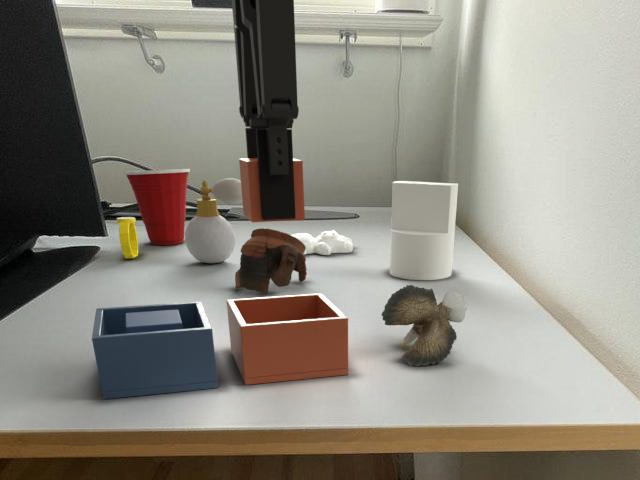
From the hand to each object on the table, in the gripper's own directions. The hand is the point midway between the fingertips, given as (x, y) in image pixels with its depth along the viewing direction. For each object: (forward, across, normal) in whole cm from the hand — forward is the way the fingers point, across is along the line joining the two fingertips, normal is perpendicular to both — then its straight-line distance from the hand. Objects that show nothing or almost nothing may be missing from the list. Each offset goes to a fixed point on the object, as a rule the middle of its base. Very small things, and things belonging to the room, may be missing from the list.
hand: (272, 213), depth 57 cm
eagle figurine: (+13, -2, -14) cm, 19 cm away
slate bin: (+13, -2, +11) cm, 17 cm away
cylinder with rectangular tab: (+13, +31, -27) cm, 43 cm away
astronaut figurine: (+13, +52, -17) cm, 56 cm away
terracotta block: (0, 0, 0) cm, 0 cm away
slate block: (+12, -2, +11) cm, 17 cm away
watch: (+13, +54, +13) cm, 57 cm away
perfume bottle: (+13, +47, 0) cm, 49 cm away
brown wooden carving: (+13, +28, -5) cm, 32 cm away
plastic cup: (+13, +67, +7) cm, 69 cm away
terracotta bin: (+13, -2, 0) cm, 13 cm away
